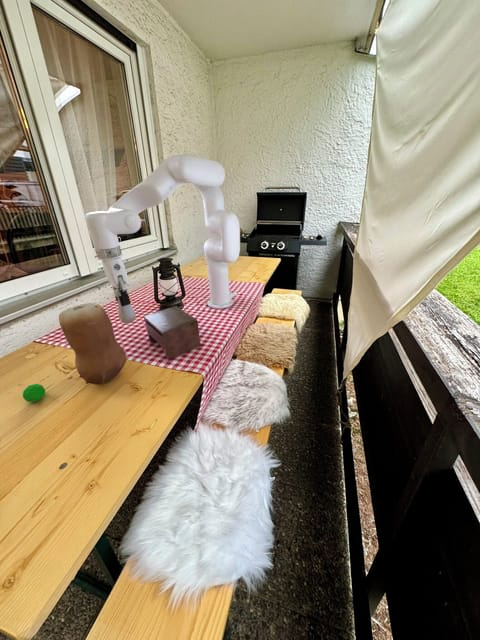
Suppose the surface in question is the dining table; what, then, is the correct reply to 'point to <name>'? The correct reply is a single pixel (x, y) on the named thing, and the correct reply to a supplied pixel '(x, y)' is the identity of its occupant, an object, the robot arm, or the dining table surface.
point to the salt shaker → (125, 311)
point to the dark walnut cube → (173, 331)
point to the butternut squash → (92, 342)
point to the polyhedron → (34, 392)
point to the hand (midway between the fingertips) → (123, 302)
